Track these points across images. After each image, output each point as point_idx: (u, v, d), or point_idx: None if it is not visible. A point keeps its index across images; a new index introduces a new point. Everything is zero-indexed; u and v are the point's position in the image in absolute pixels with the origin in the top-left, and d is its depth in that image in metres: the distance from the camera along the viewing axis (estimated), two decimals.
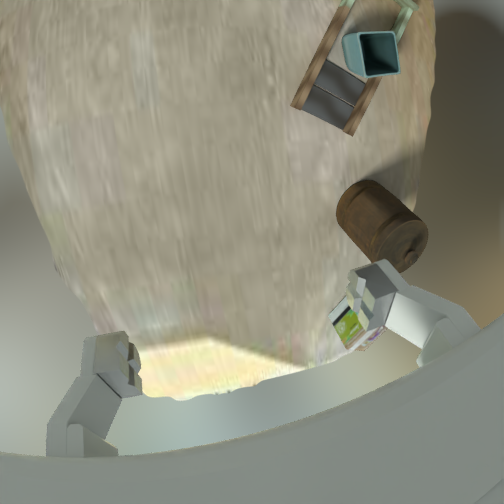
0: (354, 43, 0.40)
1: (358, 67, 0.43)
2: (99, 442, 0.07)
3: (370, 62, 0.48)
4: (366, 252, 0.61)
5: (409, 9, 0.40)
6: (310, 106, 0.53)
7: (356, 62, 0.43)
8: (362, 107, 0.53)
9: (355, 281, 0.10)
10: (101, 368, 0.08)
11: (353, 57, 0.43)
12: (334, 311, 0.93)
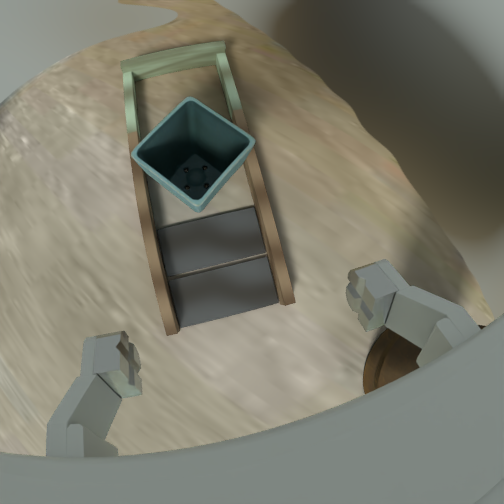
0: (148, 171, 0.28)
1: (184, 199, 0.28)
2: (99, 442, 0.07)
3: None
4: None
5: (218, 56, 0.35)
6: (197, 311, 0.34)
7: (177, 195, 0.28)
8: (271, 246, 0.33)
9: (355, 281, 0.10)
10: (101, 368, 0.08)
11: (171, 191, 0.29)
12: None
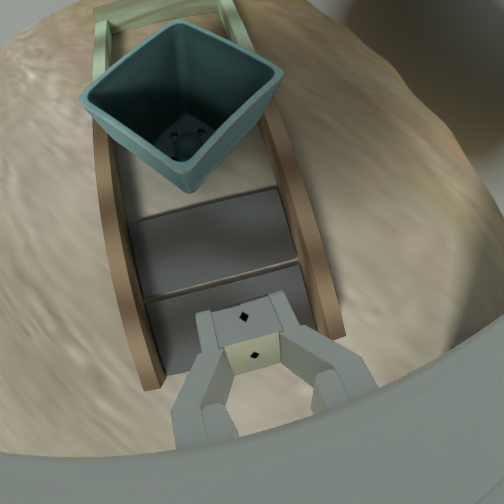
0: (106, 126, 0.15)
1: (161, 167, 0.15)
2: (231, 422, 0.07)
3: None
4: None
5: None
6: (192, 351, 0.21)
7: (151, 161, 0.16)
8: (308, 248, 0.20)
9: None
10: (227, 341, 0.08)
11: (144, 157, 0.16)
12: None
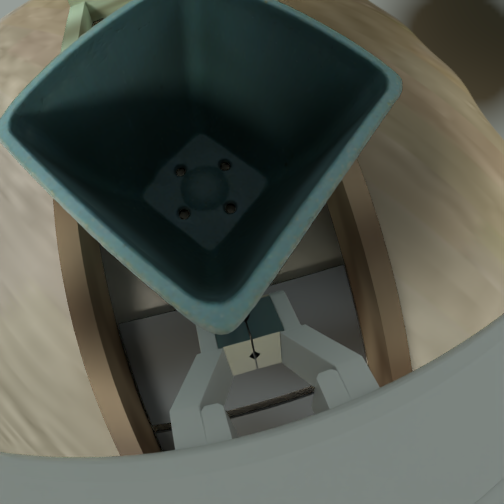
0: None
1: None
2: (230, 422, 0.07)
3: (285, 172, 0.14)
4: None
5: None
6: None
7: None
8: (392, 363, 0.12)
9: None
10: (226, 341, 0.08)
11: None
12: None
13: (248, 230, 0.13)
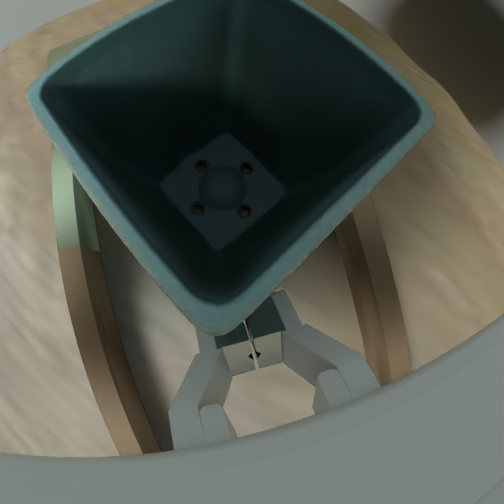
0: None
1: None
2: (229, 423, 0.07)
3: (304, 185, 0.14)
4: None
5: None
6: None
7: None
8: None
9: None
10: (225, 341, 0.08)
11: None
12: None
13: (258, 237, 0.13)
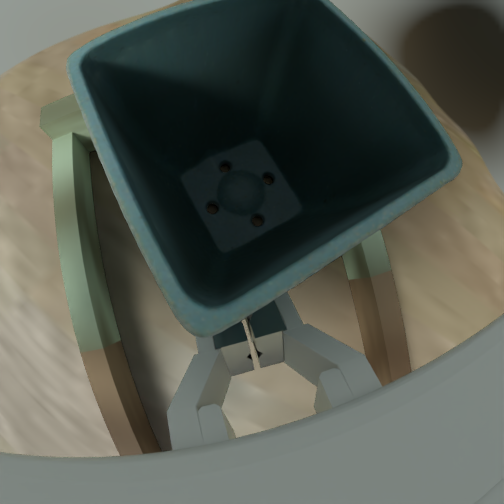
0: None
1: None
2: (228, 423, 0.07)
3: (321, 207, 0.14)
4: None
5: None
6: None
7: None
8: None
9: None
10: (224, 342, 0.08)
11: None
12: None
13: (265, 248, 0.13)
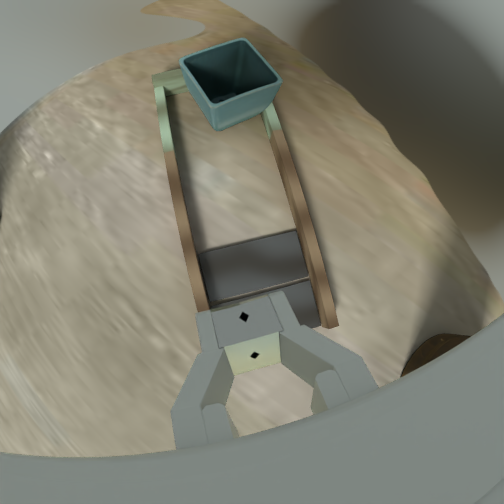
0: (186, 78, 0.30)
1: (204, 105, 0.29)
2: (231, 422, 0.07)
3: None
4: None
5: None
6: None
7: (201, 101, 0.30)
8: (316, 270, 0.33)
9: None
10: (227, 341, 0.08)
11: (198, 100, 0.31)
12: None
13: (233, 122, 0.35)
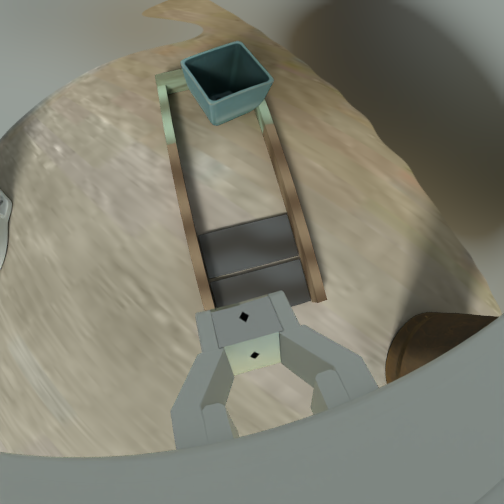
0: (187, 78, 0.33)
1: (204, 102, 0.33)
2: (231, 422, 0.07)
3: None
4: None
5: None
6: None
7: (201, 99, 0.33)
8: (305, 249, 0.37)
9: None
10: (227, 341, 0.08)
11: (198, 98, 0.34)
12: None
13: (230, 117, 0.39)
